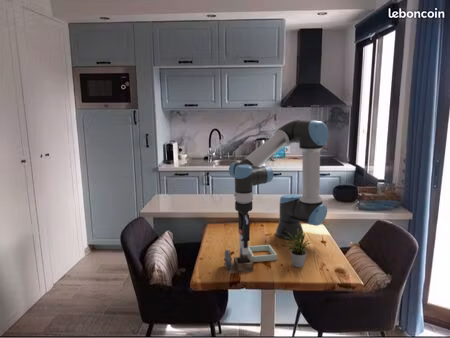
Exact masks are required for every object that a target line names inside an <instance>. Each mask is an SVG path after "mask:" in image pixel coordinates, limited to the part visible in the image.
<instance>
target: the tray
mask: <svg viewBox="0 0 450 338" xmlns="http://www.w3.org/2000/svg"><path fill="white" fill-rule="evenodd" d="M264 251H266V252H267V251H268V252H269V253H270V254H263V255H262V254H261V255H254V253H253V252H264ZM248 256H250V258H251V260H252V261H253V263H258V262H266V261H267V262H268V261H269V262H270V261H277V260H278V254H277V253H276V251H275V250H274V248H273V247H272V245H271V244H265V245H264V244H261V245H260V244H259V245H248Z"/></svg>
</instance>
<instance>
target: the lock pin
mask: <svg viewBox="0 0 450 338" xmlns="http://www.w3.org/2000/svg"><path fill="white" fill-rule="evenodd" d="M238 230H239V231H238V235H239V236H238V237H239V238H238V242H239V243H238V244H239V245H238V246H239V247H238V248H239V253H238V254H239V257H240V263H248V262H249V260H248V256H249V254H243V255H242V241H241V239H242V229H239V228H238Z"/></svg>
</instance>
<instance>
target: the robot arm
mask: <svg viewBox="0 0 450 338" xmlns="http://www.w3.org/2000/svg"><path fill="white" fill-rule="evenodd" d="M328 140H329V129H328V127H327V124H325V123H324V122H323V121H320V120H319V121H318V120H311V119H310V120H303V119H295V120H292V121H289V122H287V123H285V124H284V125H282V126H280V127H279V128H277V129H276V130H275V131H274V133H273V135H272V136H271V137H270V138H268V139H267V140H266V141H264V142H263V143H262V144H260V146H258V147H257V148H255V150H253V151H252V152H251V153H249V154H248V155H247V156H246V157H245V158H243V159H241V161H238V162H236V161H235V162H232V163H231V164H230V165H229V168H228V173H229V175H230V176H231V177H232V178H234V193H233V197H234V200H235V202H234V210H235V211H237V214H238V215H237V216H238V225H237V226H238V230H237V231H238V232H239V229H242V239H241V241H242V255H243V254H248V246H249V241H250V239H251V238H250V234H251V232H250V231H251V229H250V226H251V224H250V223H251V220H250V215H249V212H251V211H252V210H253V200H254V199H253V193H254V192H253V188H254V186H258V185H262V184H263V185H264V184H267V183H270V182H272V181H273V178H274V171H273V169H272V168H271V167H270V166H268V165H263V164H264V163H265V162H266V161H267V160H269V159H270V158H271V157H272V156H274V155H275V154H276V153H277V152H279V151H280V150H281V149H282V148H284V147H287V146H289V145H290V144H295V143H298V145H299V149H300V150H301V151H302V155H301V156H302V157H301V158H302V195H300V194H297V193H296V194H295V193H294V194H292V193H291V194H283V195H282V196H281V197H280V198H279V221H278V223H277V226H276V229H275V230H276V231H275V235H276V236H277V237H278V238H280V239H284V240H287V241H289V240H290V241H291V240H292V241H295V240H296V238H295V236H296V235H297V229H299V233H300V231H301V233H302V232H303V233H304V230H303V227H302V223H305V224H308V225H310V226H316V227H317V226H320V225H321V224H322V223H324V221H325V219H326V218H327V214H328V208H327V206H326V205H325V204H323V198H322V197H321V196H320V185H321V184H320V183H321V179H320V178H321V177H320V176H321V174H320V173H321V171H320V169H321V150H323V149H324V145H326V144H327V142H328ZM261 165H262V166H261ZM285 231H286V232H285ZM287 232H288V233H290V234H291V235H292V236H293V238H294V240H293V239H292V237H291V236H290V234H288V233H287ZM284 237H288V238H284ZM301 237H302V234H301ZM301 237H300V239H301ZM248 255H249V254H248Z"/></svg>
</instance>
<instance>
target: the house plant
mask: <svg viewBox="0 0 450 338" xmlns="http://www.w3.org/2000/svg"><path fill="white" fill-rule="evenodd" d="M285 232H286V231H285ZM287 233H288V232H287ZM288 234H290V233H288ZM301 234H302V237H301ZM290 236H291V237H292V239H293V240H290V241H291V242H290V241H289V240H288V239H285V241H286V242H287V243H285V244H284V246H285V245H287V247H288V250H290V257H291V264H292V266H293V267H295V268H303V267H304V266H305V262H306V257H307V252H310V250H309V249H307V250H306V246H307V245H309V244H312V243H311V242H309V241H310V239H307V240H306V241H305V242H304V240H305V238H306V237H305V236H306V235H305V232H304V231H303V232H302V233H301V231H300V233H299V229H297V235H296V236H295V238H296V239H295V240H294V238H293V236H292V235H291V234H290ZM300 237H301V238H300ZM284 238H288V237H284ZM307 242H308V243H307ZM288 250H287V251H288Z"/></svg>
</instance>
